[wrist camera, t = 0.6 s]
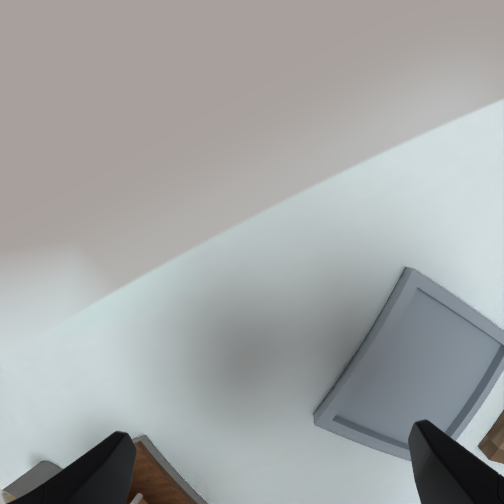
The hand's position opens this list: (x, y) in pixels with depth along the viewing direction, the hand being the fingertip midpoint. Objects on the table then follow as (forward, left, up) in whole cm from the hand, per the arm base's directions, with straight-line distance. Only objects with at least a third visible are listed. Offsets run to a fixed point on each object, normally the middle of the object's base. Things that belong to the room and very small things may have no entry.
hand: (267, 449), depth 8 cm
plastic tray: (+2, -13, -15) cm, 20 cm away
